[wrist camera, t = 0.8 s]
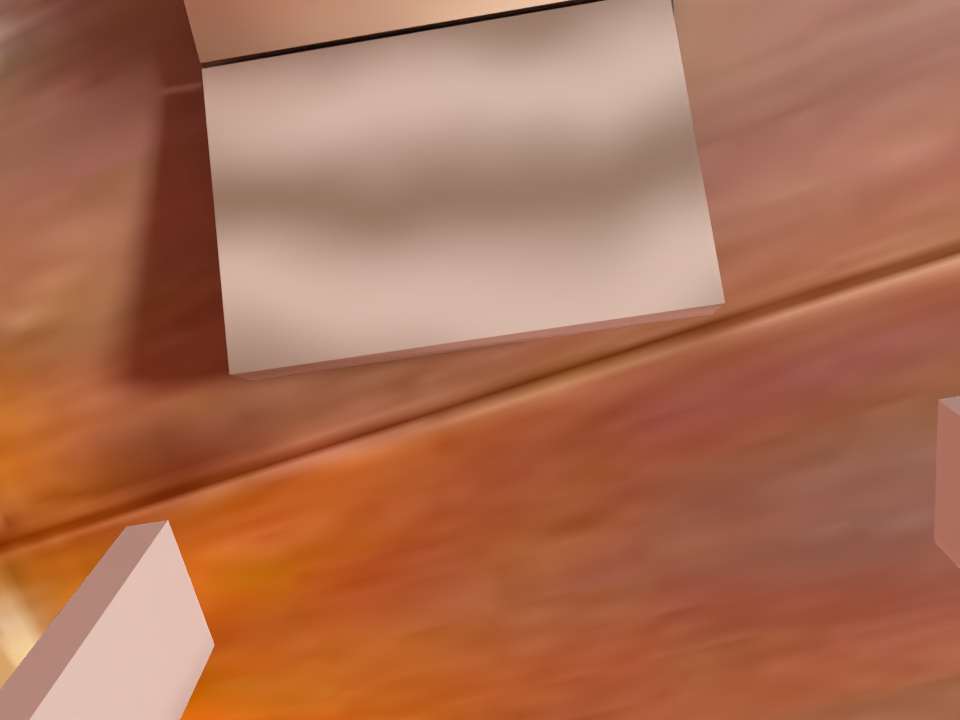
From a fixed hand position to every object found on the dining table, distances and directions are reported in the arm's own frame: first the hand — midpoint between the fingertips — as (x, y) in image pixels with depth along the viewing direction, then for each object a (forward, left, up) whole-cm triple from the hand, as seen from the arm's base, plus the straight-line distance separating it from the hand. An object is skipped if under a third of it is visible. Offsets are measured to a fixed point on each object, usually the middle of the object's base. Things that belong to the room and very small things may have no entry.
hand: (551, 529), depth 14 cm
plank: (-4, -2, -15) cm, 15 cm away
